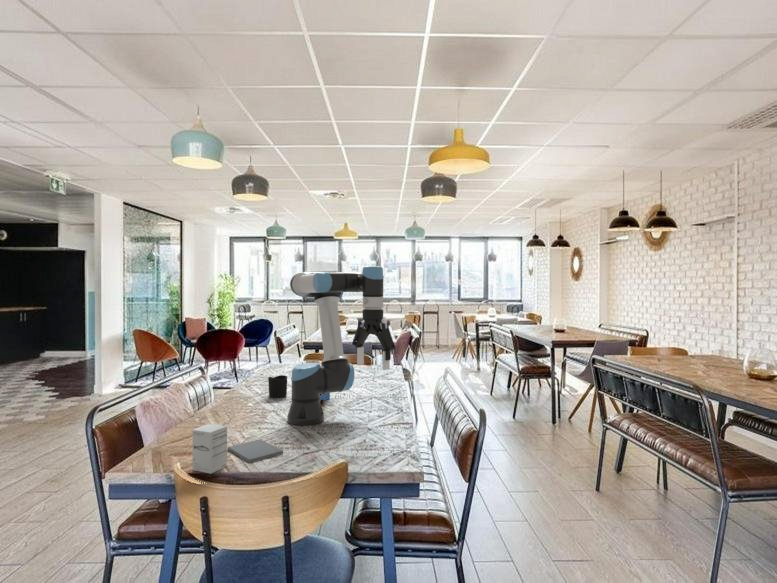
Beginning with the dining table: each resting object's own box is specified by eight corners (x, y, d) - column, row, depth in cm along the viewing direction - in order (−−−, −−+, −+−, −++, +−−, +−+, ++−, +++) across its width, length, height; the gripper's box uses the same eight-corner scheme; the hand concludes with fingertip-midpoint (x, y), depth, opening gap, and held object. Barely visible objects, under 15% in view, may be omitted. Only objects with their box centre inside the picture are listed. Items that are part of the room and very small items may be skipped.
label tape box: (324, 397, 235) (324, 373, 234) (330, 399, 232) (330, 374, 232) (311, 401, 228) (311, 376, 228) (317, 402, 225) (317, 377, 225)
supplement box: (191, 471, 141) (191, 429, 141) (209, 462, 148) (209, 422, 148) (210, 474, 138) (210, 432, 138) (228, 465, 145) (227, 425, 145)
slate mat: (227, 449, 159) (227, 446, 159) (260, 441, 167) (260, 439, 167) (249, 462, 147) (249, 459, 147) (283, 453, 156) (283, 450, 156)
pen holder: (284, 398, 232) (284, 378, 232) (266, 398, 232) (266, 378, 232) (289, 394, 242) (289, 375, 242) (271, 394, 242) (271, 375, 242)
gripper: (342, 307, 175) (342, 364, 175) (390, 310, 157) (390, 372, 157) (357, 307, 180) (357, 361, 180) (405, 309, 163) (405, 370, 163)
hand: (372, 367), depth 169 cm, fingers open, 13 cm apart
